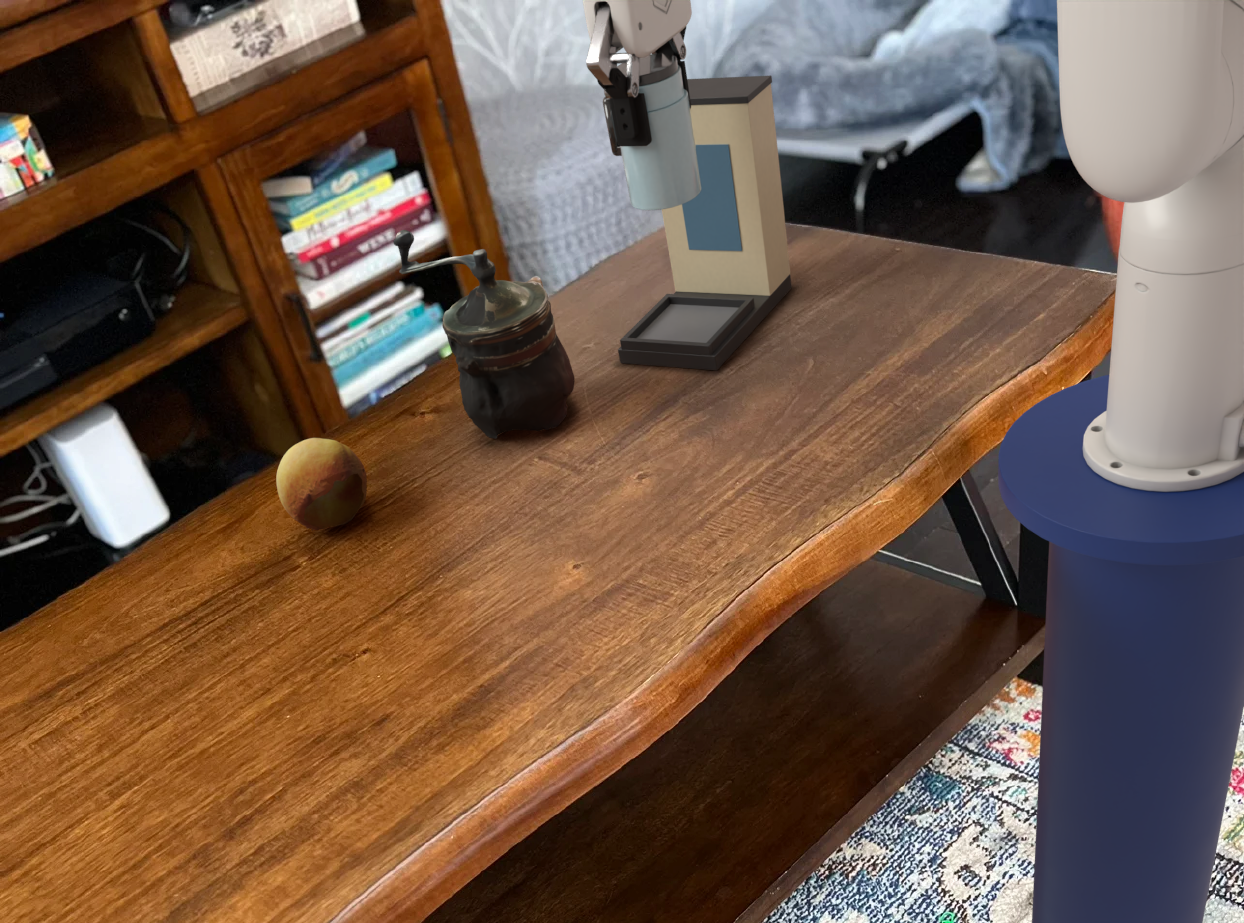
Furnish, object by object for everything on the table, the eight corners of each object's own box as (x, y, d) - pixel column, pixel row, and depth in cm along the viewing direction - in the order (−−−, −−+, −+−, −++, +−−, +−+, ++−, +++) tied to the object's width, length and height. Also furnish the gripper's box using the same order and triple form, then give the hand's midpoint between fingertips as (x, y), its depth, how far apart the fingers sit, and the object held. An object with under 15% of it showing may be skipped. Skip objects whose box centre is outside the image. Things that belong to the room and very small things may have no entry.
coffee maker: (718, 371, 124) (684, 151, 110) (619, 363, 129) (575, 152, 115) (793, 287, 134) (771, 75, 120) (698, 283, 139) (667, 79, 125)
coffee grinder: (470, 389, 132) (417, 209, 119) (602, 389, 126) (560, 200, 114) (415, 456, 124) (351, 271, 111) (552, 459, 118) (502, 264, 106)
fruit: (395, 502, 119) (366, 423, 113) (342, 553, 114) (309, 474, 108) (333, 493, 122) (302, 416, 116) (279, 543, 118) (244, 465, 112)
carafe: (681, 211, 114) (659, 77, 106) (603, 210, 118) (577, 81, 110) (714, 180, 118) (695, 49, 110) (637, 180, 121) (615, 53, 114)
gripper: (601, -87, 94) (645, 168, 107) (707, -152, 104) (736, 90, 116) (518, -78, 98) (570, 168, 110) (627, -141, 107) (664, 92, 120)
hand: (655, 126), depth 113 cm, fingers closed on carafe, 6 cm apart
